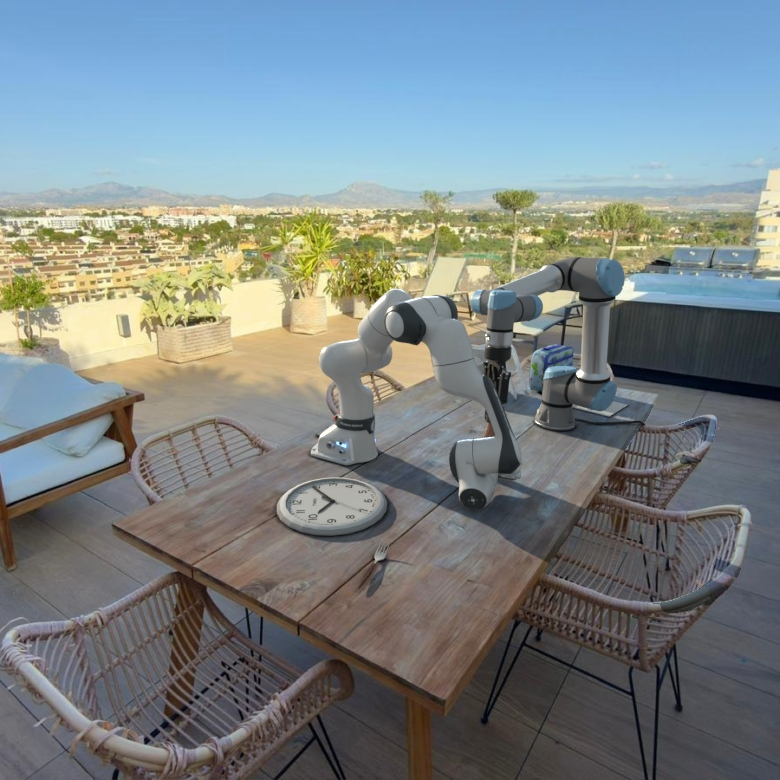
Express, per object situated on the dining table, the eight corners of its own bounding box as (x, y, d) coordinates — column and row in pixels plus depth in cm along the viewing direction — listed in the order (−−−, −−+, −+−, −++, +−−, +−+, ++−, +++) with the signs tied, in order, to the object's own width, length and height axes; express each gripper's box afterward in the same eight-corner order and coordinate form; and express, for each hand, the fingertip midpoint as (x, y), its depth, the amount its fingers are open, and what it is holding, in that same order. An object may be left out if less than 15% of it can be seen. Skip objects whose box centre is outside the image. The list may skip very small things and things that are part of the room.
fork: (352, 589, 110) (352, 581, 109) (380, 547, 124) (380, 540, 123) (364, 592, 109) (364, 583, 108) (390, 550, 123) (390, 542, 123)
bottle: (477, 473, 163) (482, 416, 157) (489, 470, 165) (493, 414, 159) (486, 479, 159) (491, 421, 153) (498, 476, 161) (503, 419, 155)
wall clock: (392, 527, 129) (268, 531, 127) (391, 533, 130) (269, 537, 127) (383, 473, 158) (282, 475, 155) (383, 478, 158) (282, 480, 156)
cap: (495, 424, 154) (496, 418, 153) (483, 421, 156) (483, 415, 156) (501, 420, 157) (501, 414, 156) (489, 418, 159) (489, 411, 159)
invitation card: (608, 416, 214) (573, 407, 224) (608, 416, 214) (573, 408, 224) (628, 404, 229) (594, 396, 238) (628, 405, 229) (594, 397, 238)
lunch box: (545, 397, 238) (550, 352, 231) (524, 391, 245) (529, 348, 239) (572, 386, 255) (578, 344, 249) (552, 381, 262) (557, 340, 256)
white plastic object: (461, 429, 252) (437, 405, 227) (444, 352, 274) (420, 323, 250) (535, 404, 240) (518, 377, 215) (510, 326, 262) (492, 293, 237)
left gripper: (521, 469, 144) (525, 450, 157) (448, 458, 150) (458, 441, 163) (519, 490, 146) (523, 469, 159) (447, 478, 152) (457, 459, 165)
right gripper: (474, 339, 157) (469, 413, 164) (499, 352, 141) (493, 433, 148) (497, 338, 158) (491, 411, 165) (524, 351, 143) (517, 430, 150)
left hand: (489, 455), depth 161 cm, fingers closed on bottle, 4 cm apart
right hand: (492, 421), depth 157 cm, fingers closed on cap, 4 cm apart
